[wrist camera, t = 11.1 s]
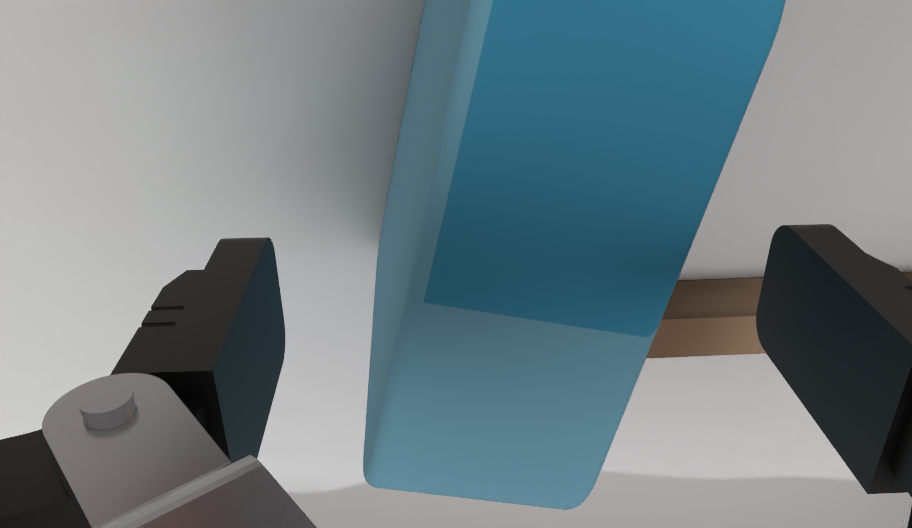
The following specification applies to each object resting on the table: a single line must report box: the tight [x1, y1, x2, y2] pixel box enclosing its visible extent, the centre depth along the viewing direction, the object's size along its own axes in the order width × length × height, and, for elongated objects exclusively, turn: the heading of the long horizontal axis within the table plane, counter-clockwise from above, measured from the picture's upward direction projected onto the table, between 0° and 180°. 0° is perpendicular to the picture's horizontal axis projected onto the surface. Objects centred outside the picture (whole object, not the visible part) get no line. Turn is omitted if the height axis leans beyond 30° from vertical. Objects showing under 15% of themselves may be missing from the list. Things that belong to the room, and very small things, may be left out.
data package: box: [363, 0, 785, 510], centre depth 18 cm, size 12×4×12 cm, turn 168°
